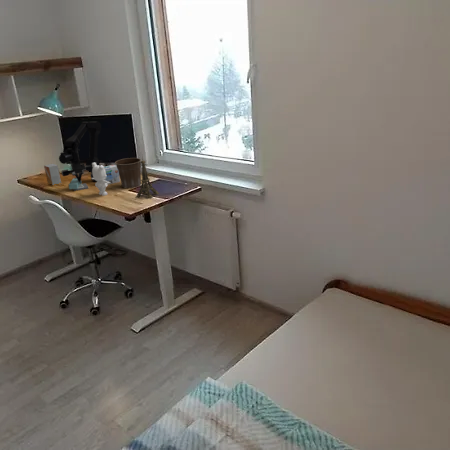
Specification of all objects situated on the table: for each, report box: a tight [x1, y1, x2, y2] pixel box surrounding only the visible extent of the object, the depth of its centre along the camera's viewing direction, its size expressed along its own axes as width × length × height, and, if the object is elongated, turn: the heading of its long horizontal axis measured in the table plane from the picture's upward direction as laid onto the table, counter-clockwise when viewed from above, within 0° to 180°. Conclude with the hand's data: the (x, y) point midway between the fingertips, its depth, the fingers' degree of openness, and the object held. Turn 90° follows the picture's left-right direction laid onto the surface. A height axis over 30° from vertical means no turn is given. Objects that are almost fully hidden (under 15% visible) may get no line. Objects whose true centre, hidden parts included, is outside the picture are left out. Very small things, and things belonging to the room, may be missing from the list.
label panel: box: [72, 182, 90, 192], centre depth 299 cm, size 9×11×1 cm
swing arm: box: [68, 177, 80, 190], centre depth 299 cm, size 5×17×3 cm, turn 7°
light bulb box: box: [104, 164, 121, 186], centre depth 304 cm, size 11×7×11 cm, turn 130°
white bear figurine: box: [90, 162, 111, 196], centre depth 278 cm, size 8×20×19 cm, turn 47°
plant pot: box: [114, 157, 142, 189], centre depth 293 cm, size 16×16×16 cm
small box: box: [43, 163, 62, 186], centre depth 309 cm, size 8×6×13 cm
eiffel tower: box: [134, 155, 160, 199], centre depth 270 cm, size 11×11×25 cm
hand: (80, 183), depth 297 cm, fingers closed
